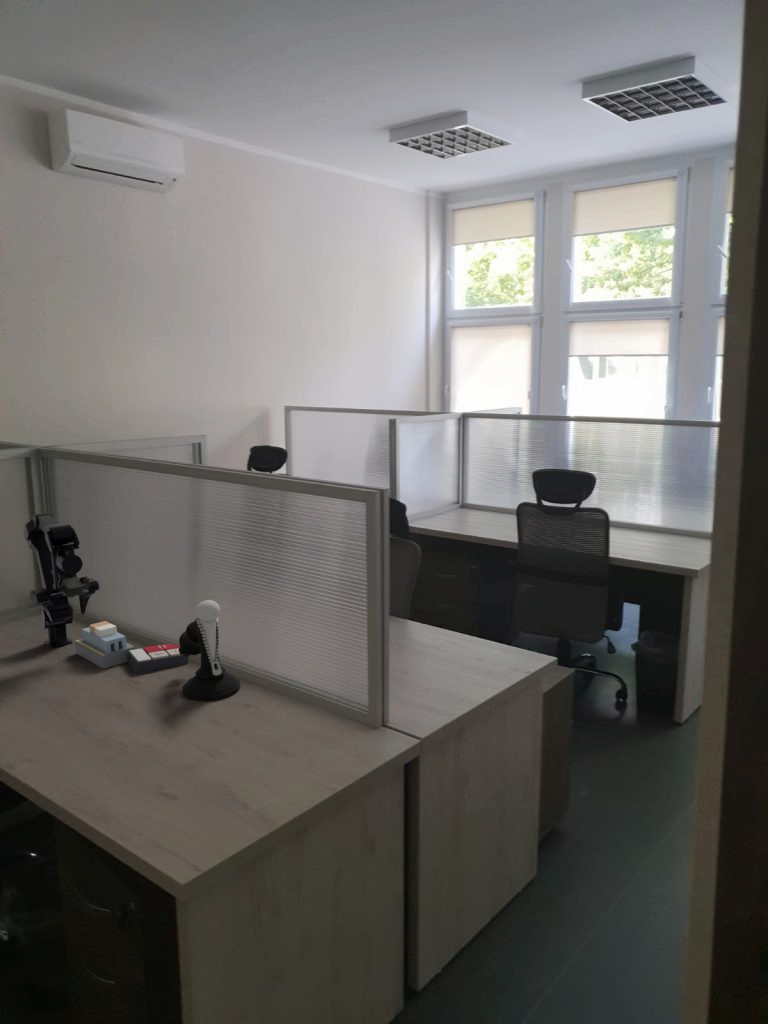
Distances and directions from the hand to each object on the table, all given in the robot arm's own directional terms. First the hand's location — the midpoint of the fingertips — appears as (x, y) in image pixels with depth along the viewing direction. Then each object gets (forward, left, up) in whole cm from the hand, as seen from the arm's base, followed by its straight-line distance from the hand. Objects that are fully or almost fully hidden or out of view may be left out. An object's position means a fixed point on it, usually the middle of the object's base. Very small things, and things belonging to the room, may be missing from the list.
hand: (67, 617), depth 234 cm
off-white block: (+10, +7, -4) cm, 13 cm away
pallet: (+8, +7, -8) cm, 13 cm away
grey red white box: (+24, +15, -13) cm, 31 cm away
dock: (+8, +7, -12) cm, 16 cm away
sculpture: (+48, +16, -12) cm, 52 cm away
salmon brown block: (+6, +7, -4) cm, 10 cm away
